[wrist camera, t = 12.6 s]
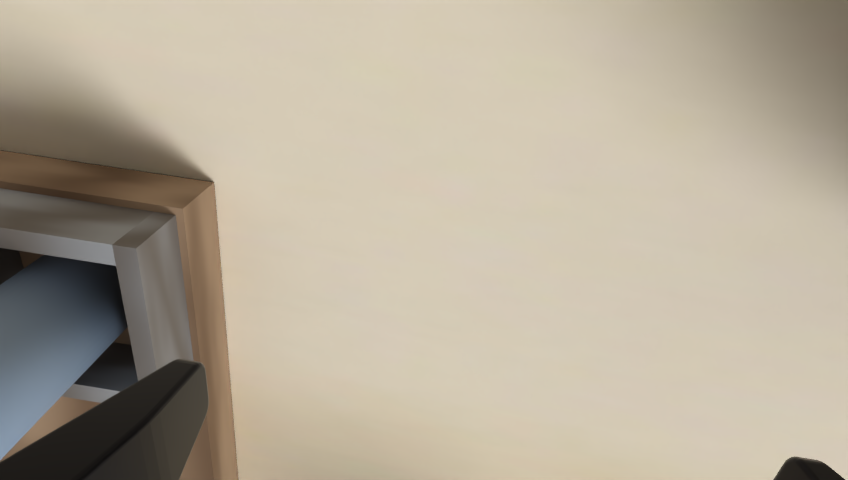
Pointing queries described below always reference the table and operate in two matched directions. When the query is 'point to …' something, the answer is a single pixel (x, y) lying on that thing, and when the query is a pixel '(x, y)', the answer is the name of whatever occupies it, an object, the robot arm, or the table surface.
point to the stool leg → (52, 335)
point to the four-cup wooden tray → (130, 281)
